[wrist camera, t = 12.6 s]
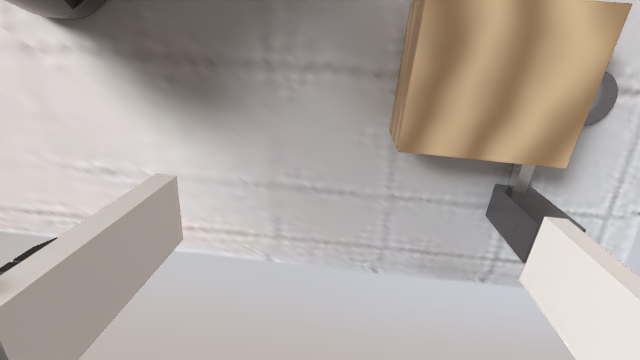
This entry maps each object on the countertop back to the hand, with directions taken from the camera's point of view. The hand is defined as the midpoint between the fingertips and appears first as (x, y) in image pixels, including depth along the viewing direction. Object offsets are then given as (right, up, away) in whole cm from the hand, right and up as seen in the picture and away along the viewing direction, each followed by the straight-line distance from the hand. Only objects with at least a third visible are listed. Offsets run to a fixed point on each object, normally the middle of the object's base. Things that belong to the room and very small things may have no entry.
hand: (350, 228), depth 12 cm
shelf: (+16, +13, +24) cm, 32 cm away
